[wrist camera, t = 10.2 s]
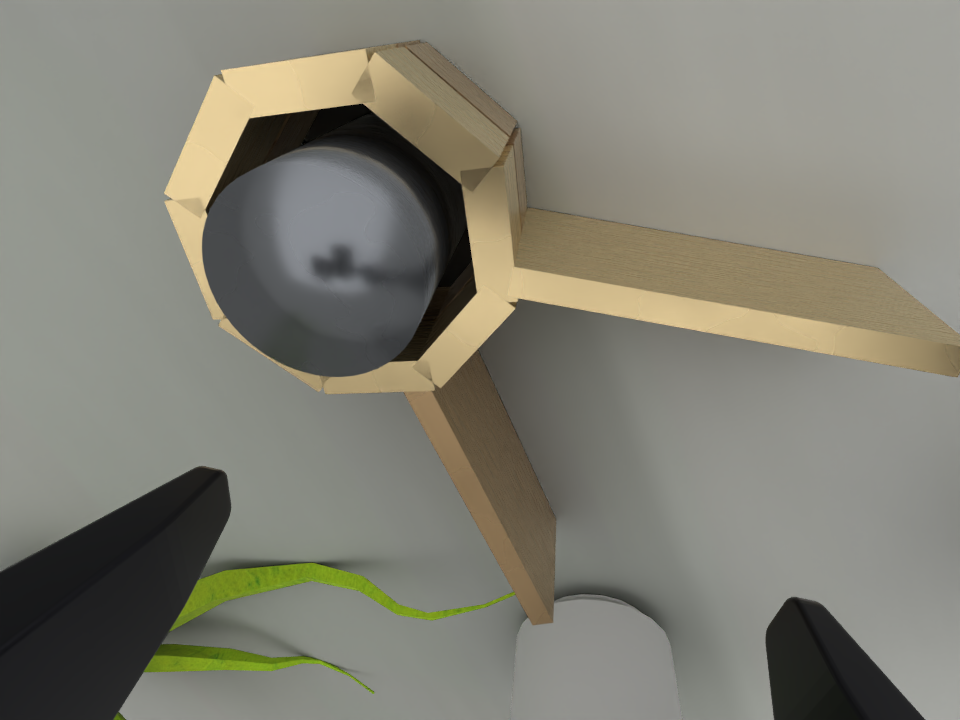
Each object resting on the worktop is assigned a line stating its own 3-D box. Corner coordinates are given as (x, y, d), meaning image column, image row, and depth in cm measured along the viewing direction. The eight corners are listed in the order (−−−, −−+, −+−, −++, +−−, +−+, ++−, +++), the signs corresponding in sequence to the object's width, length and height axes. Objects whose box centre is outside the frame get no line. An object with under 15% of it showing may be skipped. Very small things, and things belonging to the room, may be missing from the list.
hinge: (885, 276, 17) (987, 359, 13) (545, 526, 25) (541, 630, 21) (426, -177, 13) (359, -265, 9) (189, 288, 21) (94, 356, 17)
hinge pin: (503, 184, 18) (470, 270, 12) (415, 294, 20) (351, 411, 14) (371, 73, 16) (260, 107, 11) (294, 204, 19) (169, 291, 13)
